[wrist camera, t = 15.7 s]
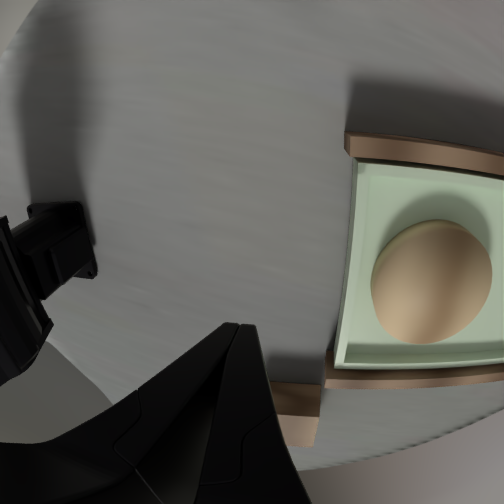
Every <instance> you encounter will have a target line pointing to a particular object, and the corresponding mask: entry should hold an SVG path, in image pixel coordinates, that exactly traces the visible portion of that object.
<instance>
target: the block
mask: <svg viewBox="0 0 504 504" xmlns="http://www.w3.org/2000/svg"><path fill="white" fill-rule="evenodd" d="M269 383H270V387H271V391H272V395H273V399H274V403H275V407H276V411H277V415H278V419H279V423H280V427H281V430H282V434H283V437H284V440H285V444H286V446H298V447H313V443H314V439H315V435H316V430H317V426H318V421H319V414H320V393H321V385H313V384H297V383H284V382H272V381H269Z"/></svg>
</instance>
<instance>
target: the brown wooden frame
mask: <svg viewBox="0 0 504 504" xmlns="http://www.w3.org/2000/svg"><path fill="white" fill-rule="evenodd" d="M344 149H345V150H346V152H347V153H348V155H349V156H350V157H363V158H376V159H388V160H398V161H408V162H417V163H426V164H434V165H442V166H449V167H456V168H463V169H469V170H475V171H481V172H487V173H493V174H498V175H504V153H501V152H497V151H492V150H487V149H482V148H477V147H472V146H466V145H461V144H455V143H449V142H442V141H436V140H429V139H421V138H413V137H405V136H396V135H386V134H376V133H364V132H349V131H345V134H344ZM501 380H504V363H498V364H488V365H477V366H465V367H450V368H430V369H335V368H334V351H326V356H325V383H324V388H336V389H408V388H430V387H445V386H457V385H468V384H477V383H486V382H494V381H501Z"/></svg>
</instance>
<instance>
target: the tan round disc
mask: <svg viewBox="0 0 504 504" xmlns="http://www.w3.org/2000/svg"><path fill="white" fill-rule="evenodd" d="M491 284H492V264H491V260H490V257H489V254H488V252H487V251H486V249H485V247H484V246H483V245H482V244H481V242H480V241H479V240H478V239H477V238H476V237H475V236H474V235H473V234H472V233H471V232H469V231H468V230H467V229H466V228H465V227H463V226H461V225H460V224H458V223H455V222H453V221H449V220H442V219H433V220H426V221H422V222H419V223H416V224H413V225H411V226H409V227H407V228H405V229H404V230H402V231H401V232H399V233H398V234H397V235H396V236H395V237H393V238H392V239H391V240H390V241H389V242H388V243H387V244H386V246H385V247H384V248H383V250H382V251H381V253H380V254H379V256H378V258H377V260H376V262H375V265H374V267H373V271H372V274H371V281H370V289H371V296H372V300H373V304H374V309H375V312H376V316H377V318H378V321H379V323H380V324H381V326H382V327H383V328H384V329H385V331H386V332H387V333H389V334H390V335H391V336H393V337H394V338H396V339H398V340H400V341H403V342H406V343H411V344H429V343H434V342H438V341H441V340H444V339H447V338H449V337H451V336H453V335H455V334H456V333H458V332H460V331H461V330H462V329H464V328H465V327H466V326H467V325H468V324H469V323H471V322H472V321H473V319H474V318H475V317H476V316H477V315H478V313H479V312H480V311H481V309H482V307H483V306H484V304H485V302H486V300H487V298H488V295H489V292H490V289H491Z"/></svg>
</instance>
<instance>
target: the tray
mask: <svg viewBox="0 0 504 504" xmlns="http://www.w3.org/2000/svg"><path fill="white" fill-rule="evenodd" d="M433 219H442V220H449V221H453V222H455V223H458V224H460V225H461V226H463V227H465V228H466V229H467V230H468V231H469V232H471V233H472V234H473V235H474V236H475V237H476V238H477V239H478V240H479V241H480V242H481V244H482V245H483V246H484V247H485V249H486V251H487V252H488V254H489V257H490V260H491V264H492V284H491V289H490V292H489V295H488V298H487V300H486V302H485V304H484V306H483V307H482V309H481V311H480V312H479V313H478V315H477V316H476V317H475V318H474V319H473V321H472V322H471V323H469V324H468V325H467V326H466V327H465V328H464V329H462V330H461V331H460V332H458V333H456V334H455V335H453V336H451V337H449V338H447V339H444V340H441V341H438V342H434V343H429V344H411V343H406V342H403V341H400V340H398V339H396V338H394V337H393V336H391V335H390V334H389V333H387V332H386V331H385V329H384V328H383V327H382V326H381V324H380V323H379V321H378V318H377V316H376V312H375V309H374V304H373V300H372V296H371V289H370V281H371V274H372V271H373V267H374V265H375V262H376V260H377V258H378V256H379V254H380V253H381V251H382V250H383V248H384V247H385V246H386V244H387V243H388V242H389V241H390V240H391V239H392V238H393V237H395V236H396V235H397V234H398V233H399V232H401V231H402V230H404V229H405V228H407V227H409V226H411V225H413V224H416V223H419V222H422V221H426V220H433ZM498 363H504V175H498V174H493V173H487V172H481V171H475V170H469V169H463V168H456V167H449V166H442V165H434V164H426V163H417V162H408V161H398V160H388V159H376V158H363V157H353V178H352V195H351V210H350V223H349V234H348V245H347V255H346V264H345V273H344V282H343V290H342V297H341V305H340V312H339V319H338V326H337V332H336V339H335V345H334V368H335V369H430V368H450V367H465V366H477V365H488V364H498Z"/></svg>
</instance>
